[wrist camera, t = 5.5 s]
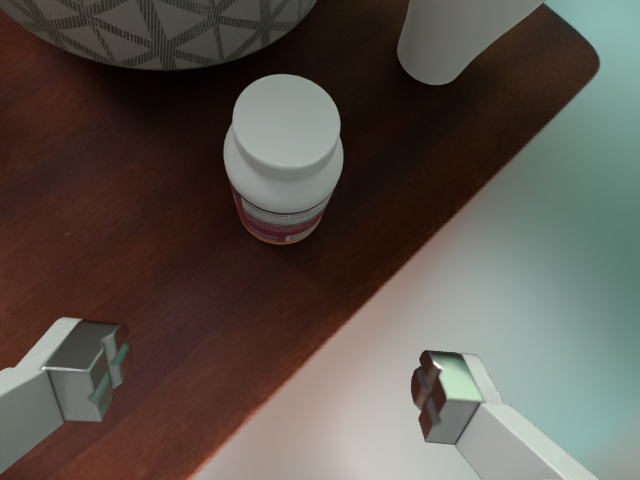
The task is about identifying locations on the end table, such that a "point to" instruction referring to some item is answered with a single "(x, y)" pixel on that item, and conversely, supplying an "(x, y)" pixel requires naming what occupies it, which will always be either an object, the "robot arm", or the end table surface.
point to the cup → (454, 34)
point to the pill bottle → (283, 156)
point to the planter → (159, 29)
